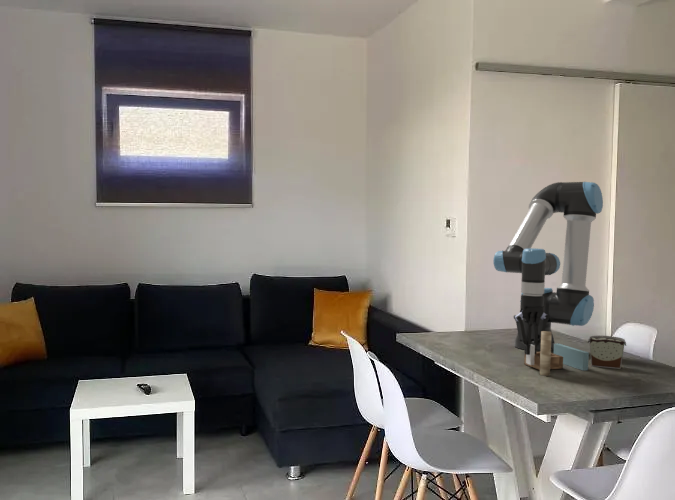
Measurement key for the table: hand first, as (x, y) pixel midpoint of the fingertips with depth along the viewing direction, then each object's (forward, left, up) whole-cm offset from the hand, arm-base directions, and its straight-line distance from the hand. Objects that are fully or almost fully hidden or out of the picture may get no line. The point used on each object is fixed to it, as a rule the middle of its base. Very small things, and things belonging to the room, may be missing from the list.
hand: (530, 363), depth 231 cm
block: (-5, 0, -1) cm, 5 cm away
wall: (-16, 0, -1) cm, 16 cm away
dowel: (+1, +10, -1) cm, 10 cm away
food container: (-28, +4, -2) cm, 28 cm away
